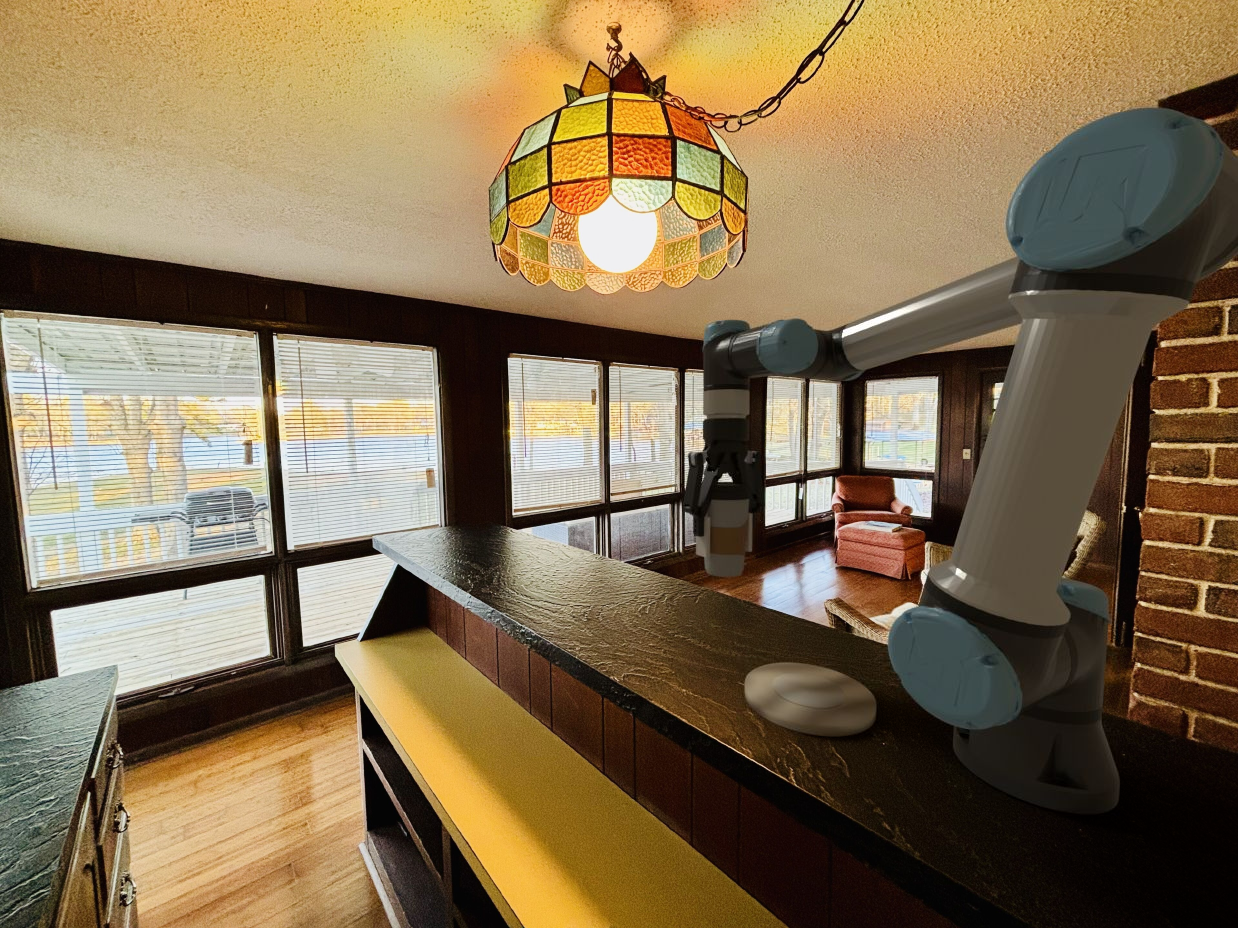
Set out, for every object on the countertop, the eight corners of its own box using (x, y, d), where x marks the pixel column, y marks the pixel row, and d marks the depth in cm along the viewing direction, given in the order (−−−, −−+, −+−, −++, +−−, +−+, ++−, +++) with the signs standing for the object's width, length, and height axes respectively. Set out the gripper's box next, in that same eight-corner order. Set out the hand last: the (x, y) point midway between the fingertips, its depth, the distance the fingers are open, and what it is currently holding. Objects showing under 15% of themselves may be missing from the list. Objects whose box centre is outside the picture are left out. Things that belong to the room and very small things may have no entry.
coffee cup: (750, 580, 82) (752, 486, 81) (697, 577, 84) (698, 485, 83) (748, 567, 90) (749, 482, 89) (700, 565, 92) (700, 481, 91)
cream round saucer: (904, 714, 72) (904, 702, 72) (813, 751, 64) (814, 738, 63) (803, 662, 88) (803, 653, 88) (719, 687, 79) (719, 676, 79)
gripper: (757, 419, 94) (756, 542, 95) (659, 417, 84) (659, 555, 85) (789, 417, 87) (786, 550, 88) (687, 415, 77) (686, 565, 79)
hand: (724, 552), depth 87 cm, fingers closed on coffee cup, 8 cm apart
